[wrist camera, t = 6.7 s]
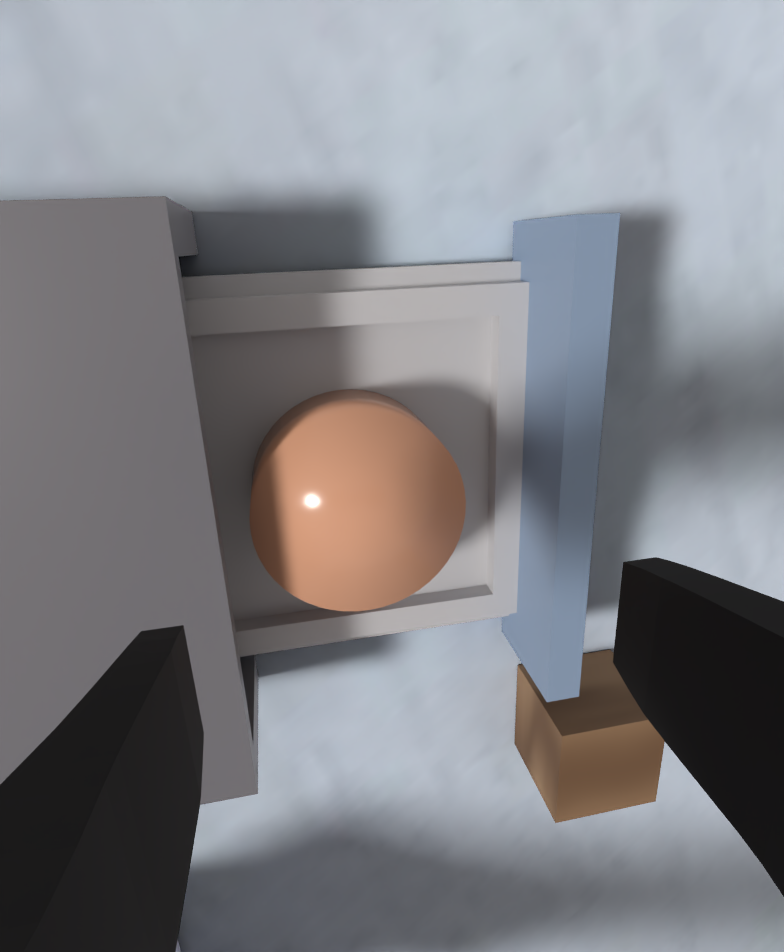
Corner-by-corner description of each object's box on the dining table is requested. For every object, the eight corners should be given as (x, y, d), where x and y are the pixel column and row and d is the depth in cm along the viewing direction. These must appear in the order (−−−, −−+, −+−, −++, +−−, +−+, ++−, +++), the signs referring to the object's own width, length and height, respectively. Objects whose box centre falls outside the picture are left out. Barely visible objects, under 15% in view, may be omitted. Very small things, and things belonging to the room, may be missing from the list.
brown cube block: (602, 726, 24) (655, 801, 21) (514, 743, 23) (555, 822, 20) (610, 649, 23) (668, 715, 19) (517, 664, 22) (562, 736, 19)
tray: (529, 626, 21) (578, 696, 18) (200, 678, 19) (188, 767, 16) (548, 220, 17) (620, 212, 13) (119, 236, 15) (78, 231, 11)
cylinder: (445, 553, 19) (468, 593, 17) (266, 580, 18) (266, 627, 16) (436, 378, 17) (462, 397, 15) (237, 401, 16) (232, 425, 14)
